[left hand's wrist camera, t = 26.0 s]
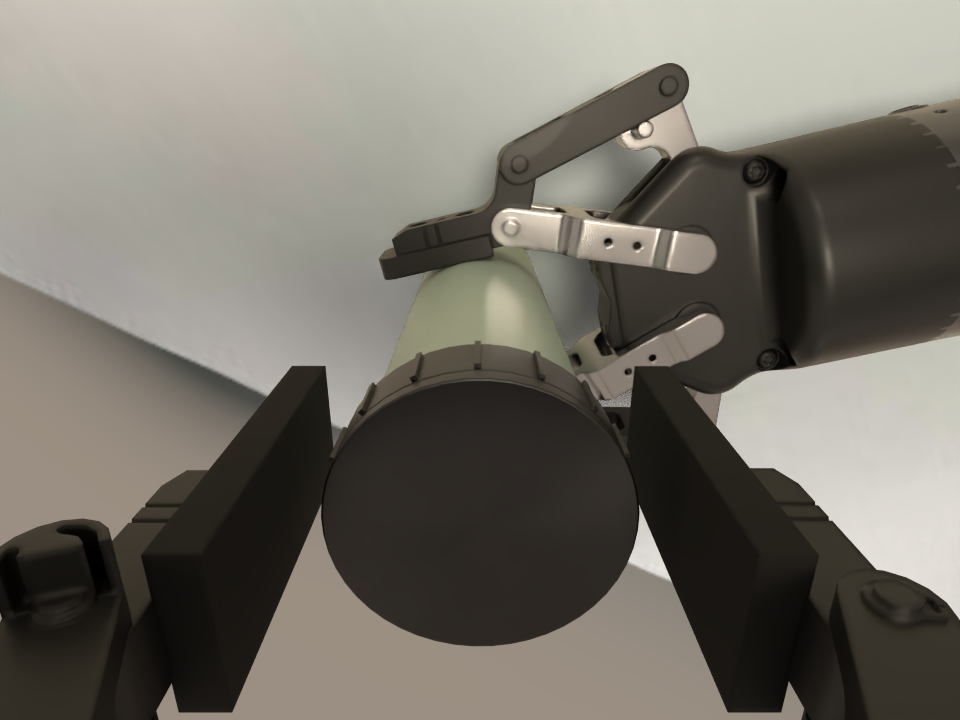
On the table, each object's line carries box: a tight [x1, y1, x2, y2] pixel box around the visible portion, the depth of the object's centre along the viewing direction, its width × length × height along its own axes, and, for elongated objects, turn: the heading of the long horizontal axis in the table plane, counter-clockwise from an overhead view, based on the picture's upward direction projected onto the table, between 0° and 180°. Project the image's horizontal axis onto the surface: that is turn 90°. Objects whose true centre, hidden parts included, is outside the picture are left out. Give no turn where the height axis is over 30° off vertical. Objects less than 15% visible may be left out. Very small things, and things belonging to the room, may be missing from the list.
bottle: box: [385, 246, 576, 377], centre depth 19 cm, size 5×5×17 cm
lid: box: [321, 341, 639, 646], centre depth 11 cm, size 6×6×2 cm
